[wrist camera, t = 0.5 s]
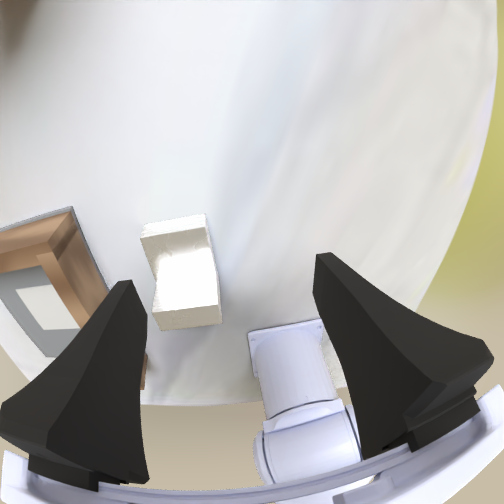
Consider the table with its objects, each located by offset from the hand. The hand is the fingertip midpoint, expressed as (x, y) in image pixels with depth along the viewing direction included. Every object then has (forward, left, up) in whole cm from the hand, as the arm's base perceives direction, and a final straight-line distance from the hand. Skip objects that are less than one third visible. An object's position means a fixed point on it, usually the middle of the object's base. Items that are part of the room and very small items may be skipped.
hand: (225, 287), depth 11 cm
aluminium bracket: (-5, +3, -10) cm, 11 cm away
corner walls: (-8, +18, -10) cm, 22 cm away
